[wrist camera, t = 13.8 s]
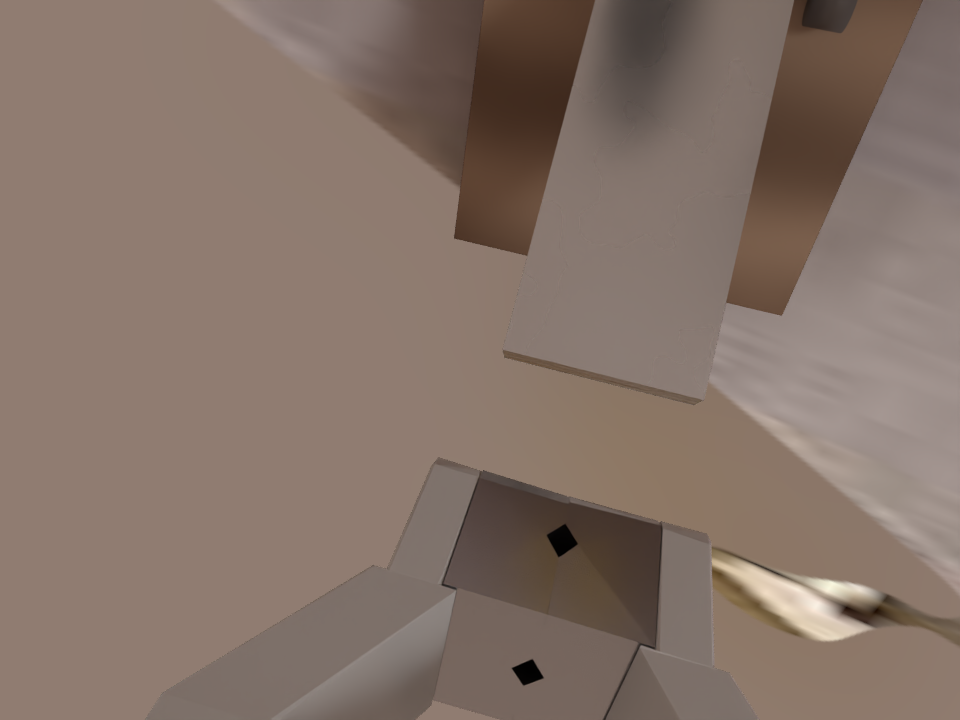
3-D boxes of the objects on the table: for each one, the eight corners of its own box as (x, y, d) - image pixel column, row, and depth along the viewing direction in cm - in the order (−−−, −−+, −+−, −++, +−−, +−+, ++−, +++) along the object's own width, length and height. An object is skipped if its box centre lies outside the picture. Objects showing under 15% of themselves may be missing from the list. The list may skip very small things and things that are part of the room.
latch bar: (611, -47, 22) (615, -77, 21) (788, -13, 21) (803, -43, 20) (504, 357, 20) (502, 349, 19) (693, 405, 20) (703, 400, 18)
